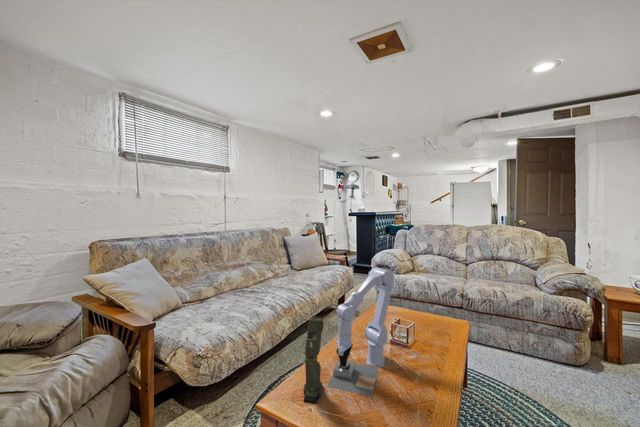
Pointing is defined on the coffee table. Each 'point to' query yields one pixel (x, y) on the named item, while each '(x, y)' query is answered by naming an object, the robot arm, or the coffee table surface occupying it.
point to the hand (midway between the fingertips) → (344, 363)
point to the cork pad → (365, 383)
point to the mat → (355, 380)
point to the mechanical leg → (313, 361)
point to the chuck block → (344, 371)
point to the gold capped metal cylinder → (346, 364)
